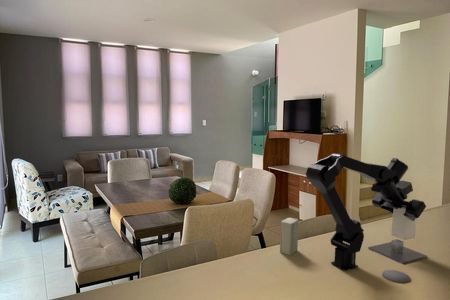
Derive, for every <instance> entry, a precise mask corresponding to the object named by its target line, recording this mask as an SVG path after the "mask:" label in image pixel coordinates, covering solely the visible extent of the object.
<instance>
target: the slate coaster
mask: <svg viewBox="0 0 450 300" xmlns="http://www.w3.org/2000/svg"><path fill="white" fill-rule="evenodd" d="M381 275H382V277H383V278H385V279H386V280H388V281H390V282H393V283H399V284H406V283H409V282H411V277H410V275H408V274H407V273H406V272H403V271H399V270H394V269H386V270H384V271H382V273H381Z"/></svg>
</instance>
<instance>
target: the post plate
mask: <svg viewBox="0 0 450 300" xmlns="http://www.w3.org/2000/svg"><path fill="white" fill-rule="evenodd" d="M367 248H368V249H369V250H371V251H373V252H375V253H376V254H379V255H381V256H384V257H387V258H388V259H391V260H393V261H395V262H398V263H399V264H402V265H404V264H409V263H412V262H416V261H419V260H423V259H427V258H428V255H426V254H424V253H422V252H419V251H416V250H414V249H411V248H408V247H406V246H404V240H401V239H399V238H398V239H393V240H391V241H389V242H385V243H381V244H377V245H372V246H368V247H367Z"/></svg>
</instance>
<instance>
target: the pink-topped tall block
mask: <svg viewBox="0 0 450 300" xmlns="http://www.w3.org/2000/svg"><path fill="white" fill-rule="evenodd" d="M405 210H406V209H405V208H404V207H402V208H401V209H400V208H398V209H395V208H393V214H392V223H391V236H393V237H394V238H395V237H396V238H398V239H399V240H402V241H406V240H411V239H416V230H417V229H416V228H417V219H418V218H415V220H414V221H412V220H410V219H409V218H407V217H406V216H404V215H403V214H404V213H405Z"/></svg>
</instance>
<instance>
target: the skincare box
mask: <svg viewBox="0 0 450 300" xmlns="http://www.w3.org/2000/svg"><path fill="white" fill-rule="evenodd" d="M279 233H280V235H279V236H280V238H279V240H280V241H279V252H280V254H284V255H287V256H291V255H292V254H294V253H296V252H297V251H298V246H299V245H298V241H299V219H297V218H292V217H287V218H284V219H283V220H281V221H280V232H279Z"/></svg>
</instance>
